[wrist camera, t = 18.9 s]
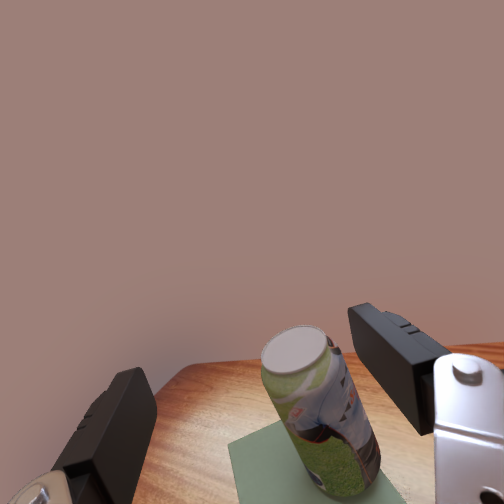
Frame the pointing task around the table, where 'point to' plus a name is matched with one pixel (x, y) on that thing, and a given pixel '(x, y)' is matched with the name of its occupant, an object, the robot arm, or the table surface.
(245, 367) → the table surface
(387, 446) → the table surface
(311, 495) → the green open cubby
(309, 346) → the beverage can
